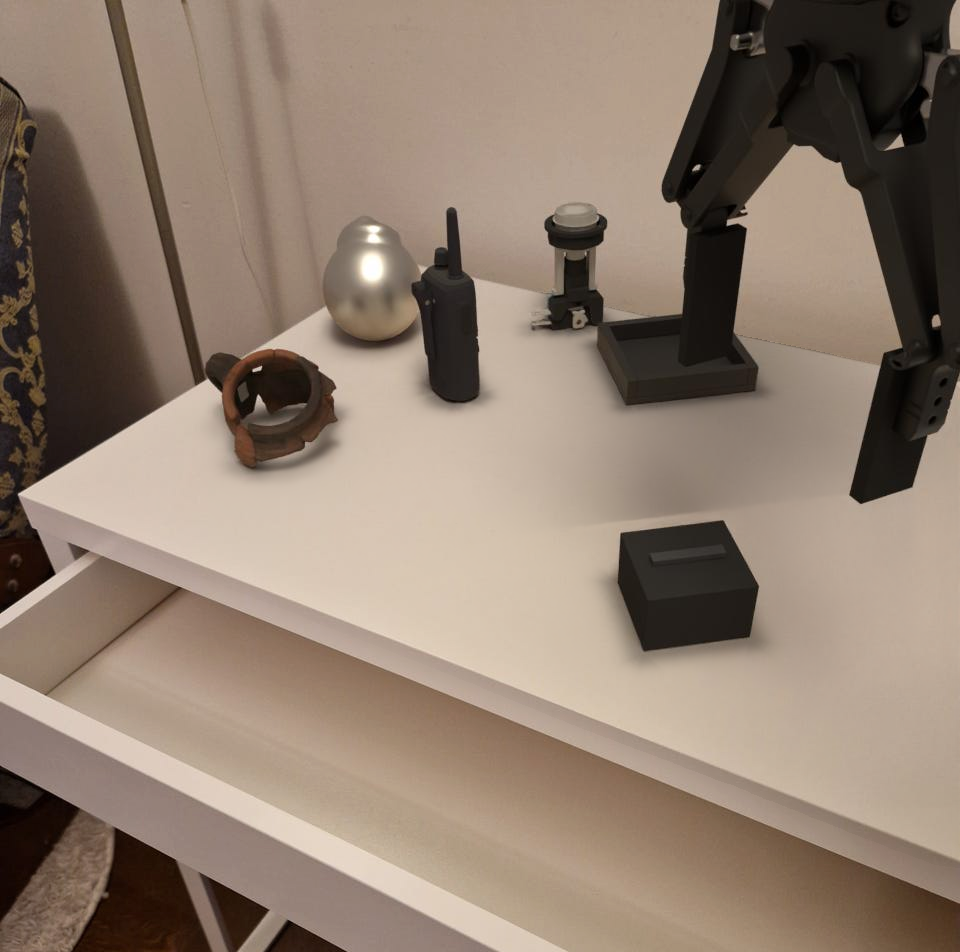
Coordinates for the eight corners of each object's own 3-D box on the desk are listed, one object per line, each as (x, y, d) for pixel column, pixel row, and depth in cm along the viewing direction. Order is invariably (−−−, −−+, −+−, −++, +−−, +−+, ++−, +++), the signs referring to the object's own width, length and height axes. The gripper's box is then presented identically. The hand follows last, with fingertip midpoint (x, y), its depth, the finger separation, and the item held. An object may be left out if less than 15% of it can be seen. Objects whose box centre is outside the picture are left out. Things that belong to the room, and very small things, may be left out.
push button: (539, 342, 88) (539, 227, 82) (523, 317, 92) (521, 205, 86) (611, 330, 89) (616, 216, 83) (592, 306, 93) (596, 195, 87)
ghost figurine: (442, 315, 93) (434, 205, 87) (407, 363, 87) (394, 247, 80) (353, 307, 96) (338, 199, 89) (312, 352, 89) (292, 240, 82)
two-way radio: (488, 398, 82) (479, 209, 72) (440, 414, 80) (424, 224, 70) (456, 371, 85) (443, 188, 75) (409, 385, 84) (389, 201, 74)
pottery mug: (372, 419, 81) (355, 363, 73) (311, 515, 79) (287, 467, 71) (248, 359, 83) (219, 298, 75) (185, 450, 81) (148, 397, 73)
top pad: (716, 570, 64) (724, 514, 61) (750, 637, 59) (760, 580, 56) (617, 582, 64) (620, 526, 61) (643, 651, 59) (648, 594, 56)
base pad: (714, 332, 88) (717, 309, 87) (755, 390, 81) (759, 366, 79) (596, 345, 88) (597, 322, 86) (626, 405, 80) (627, 381, 78)
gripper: (601, -167, 40) (587, 330, 55) (1118, -106, 23) (901, 594, 38) (758, -183, 42) (705, 301, 57) (1342, -138, 25) (1054, 539, 40)
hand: (783, 419), depth 47 cm, fingers open, 13 cm apart
